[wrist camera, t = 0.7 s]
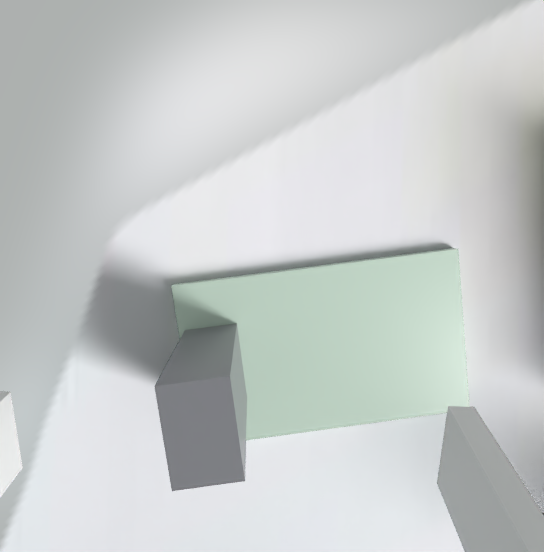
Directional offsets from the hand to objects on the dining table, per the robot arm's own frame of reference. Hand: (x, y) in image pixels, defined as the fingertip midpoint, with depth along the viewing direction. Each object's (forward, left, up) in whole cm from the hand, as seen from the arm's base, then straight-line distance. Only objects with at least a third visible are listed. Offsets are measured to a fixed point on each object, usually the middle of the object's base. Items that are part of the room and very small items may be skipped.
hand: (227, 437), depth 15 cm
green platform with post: (-5, -6, -24) cm, 26 cm away
